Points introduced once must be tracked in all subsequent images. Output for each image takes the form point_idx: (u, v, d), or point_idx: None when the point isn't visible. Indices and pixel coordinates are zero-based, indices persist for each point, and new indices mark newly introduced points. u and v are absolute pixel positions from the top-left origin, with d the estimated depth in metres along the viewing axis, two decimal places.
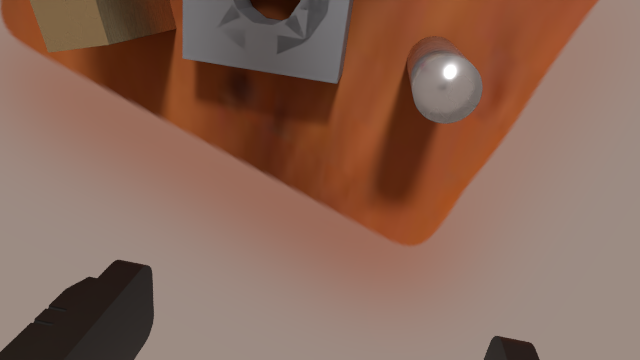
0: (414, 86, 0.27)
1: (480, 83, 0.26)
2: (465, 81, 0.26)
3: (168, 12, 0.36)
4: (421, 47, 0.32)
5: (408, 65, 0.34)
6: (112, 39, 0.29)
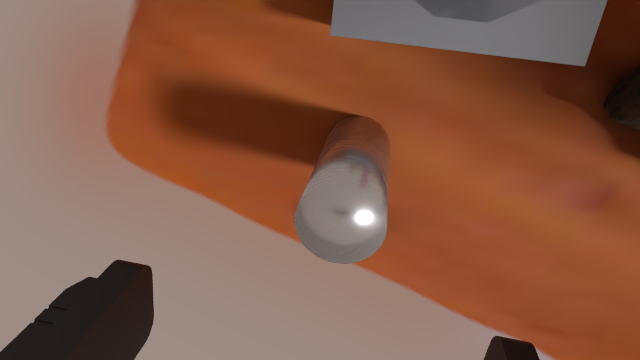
0: (344, 183, 0.19)
1: (351, 261, 0.20)
2: (354, 244, 0.20)
3: None
4: (382, 146, 0.25)
5: (357, 128, 0.25)
6: None
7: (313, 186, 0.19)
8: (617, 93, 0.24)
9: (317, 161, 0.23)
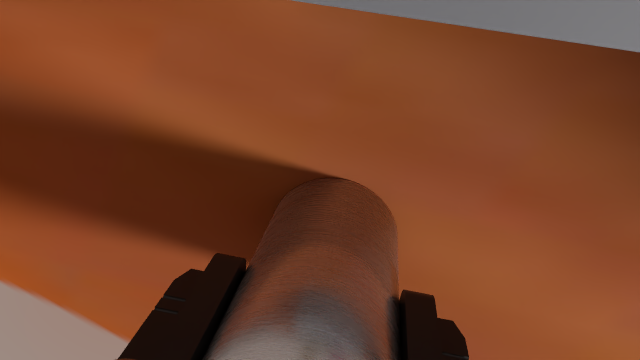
0: None
1: None
2: None
3: None
4: (385, 270, 0.10)
5: (328, 218, 0.11)
6: None
7: None
8: None
9: (221, 320, 0.09)
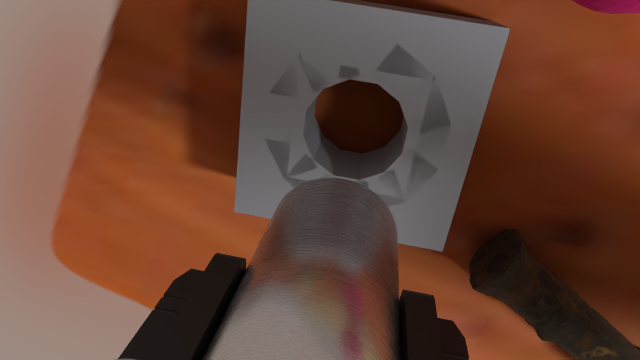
0: None
1: None
2: None
3: None
4: (385, 269, 0.10)
5: (328, 218, 0.11)
6: None
7: None
8: (477, 259, 0.28)
9: (221, 320, 0.09)
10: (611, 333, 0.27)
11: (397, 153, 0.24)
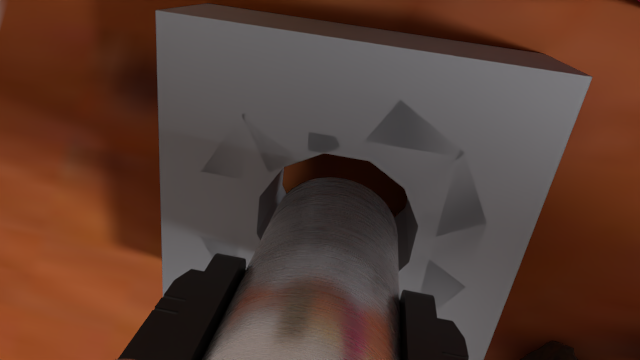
0: None
1: None
2: None
3: None
4: (385, 269, 0.10)
5: (328, 217, 0.11)
6: None
7: None
8: None
9: (221, 319, 0.09)
10: None
11: (401, 256, 0.16)
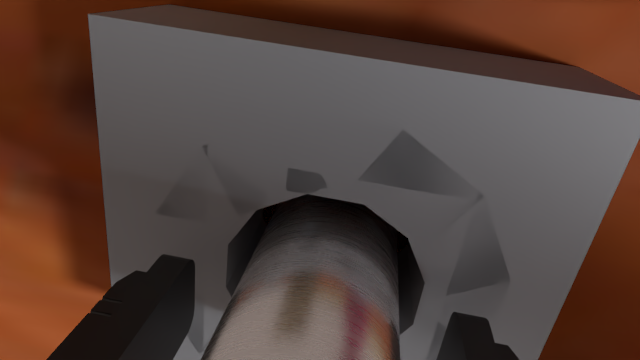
0: None
1: None
2: None
3: None
4: (385, 236, 0.12)
5: None
6: None
7: None
8: None
9: (242, 276, 0.10)
10: None
11: (403, 313, 0.13)
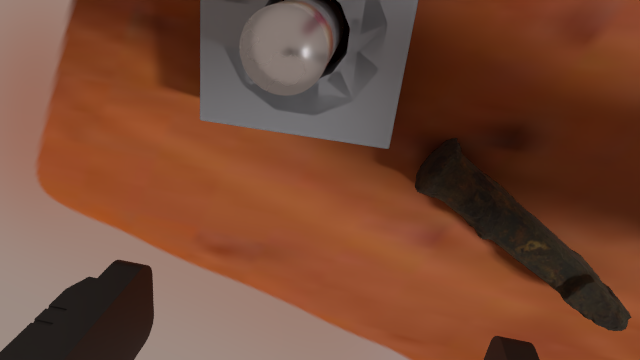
0: (285, 5, 0.19)
1: (295, 92, 0.21)
2: (297, 73, 0.20)
3: None
4: (332, 10, 0.25)
5: None
6: None
7: (256, 12, 0.20)
8: (422, 167, 0.31)
9: None
10: (542, 229, 0.30)
11: (343, 56, 0.26)
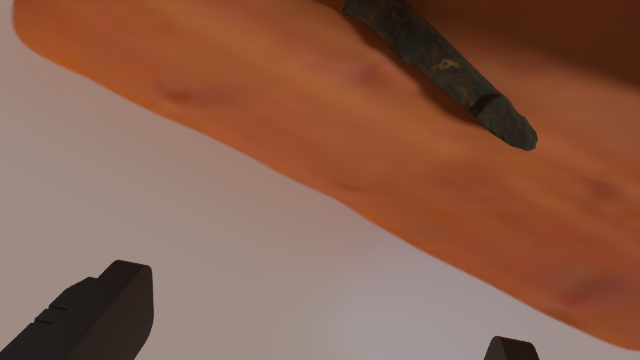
0: None
1: None
2: None
3: None
4: None
5: None
6: None
7: None
8: None
9: None
10: (455, 49, 0.33)
11: None
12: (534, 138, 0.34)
